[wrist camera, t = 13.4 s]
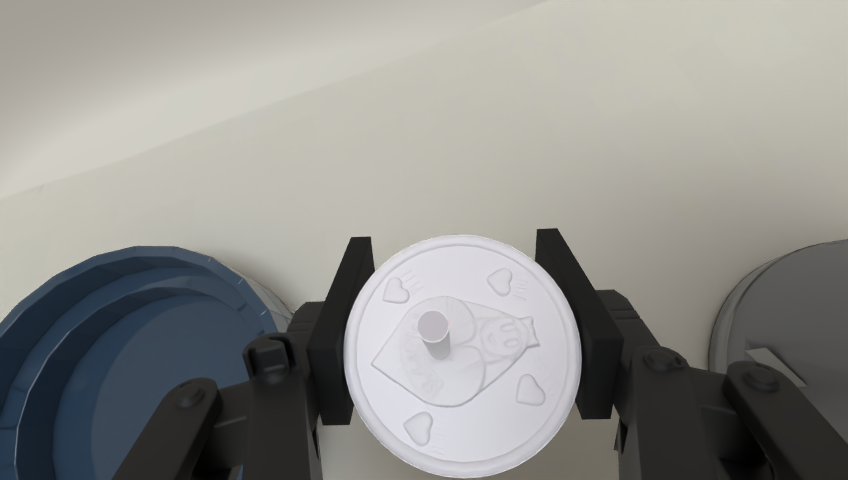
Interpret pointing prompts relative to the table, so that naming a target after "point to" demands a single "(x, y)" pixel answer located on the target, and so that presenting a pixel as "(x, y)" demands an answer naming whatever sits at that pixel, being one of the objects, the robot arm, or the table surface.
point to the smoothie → (462, 356)
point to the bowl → (118, 354)
